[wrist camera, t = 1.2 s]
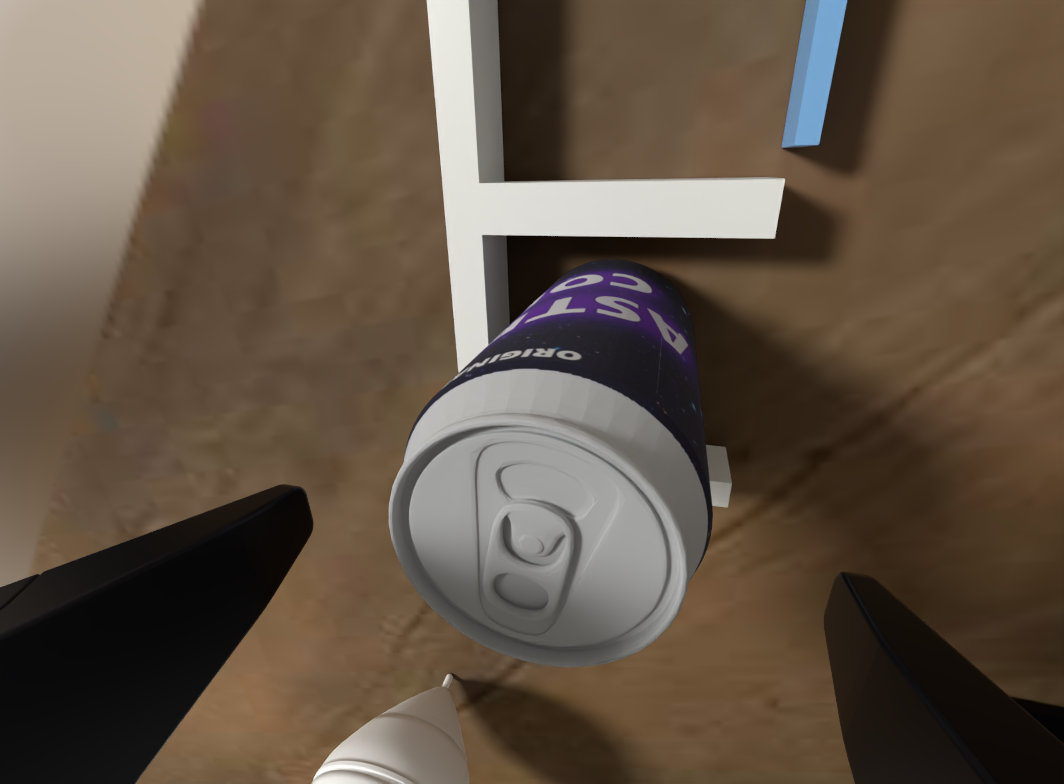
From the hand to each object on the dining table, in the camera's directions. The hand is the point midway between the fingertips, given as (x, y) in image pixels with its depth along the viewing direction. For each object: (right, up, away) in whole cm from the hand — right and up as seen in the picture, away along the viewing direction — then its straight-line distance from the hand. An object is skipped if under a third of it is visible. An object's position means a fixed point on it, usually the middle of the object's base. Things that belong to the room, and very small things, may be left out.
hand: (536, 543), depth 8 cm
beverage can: (+3, +5, +10) cm, 12 cm away
